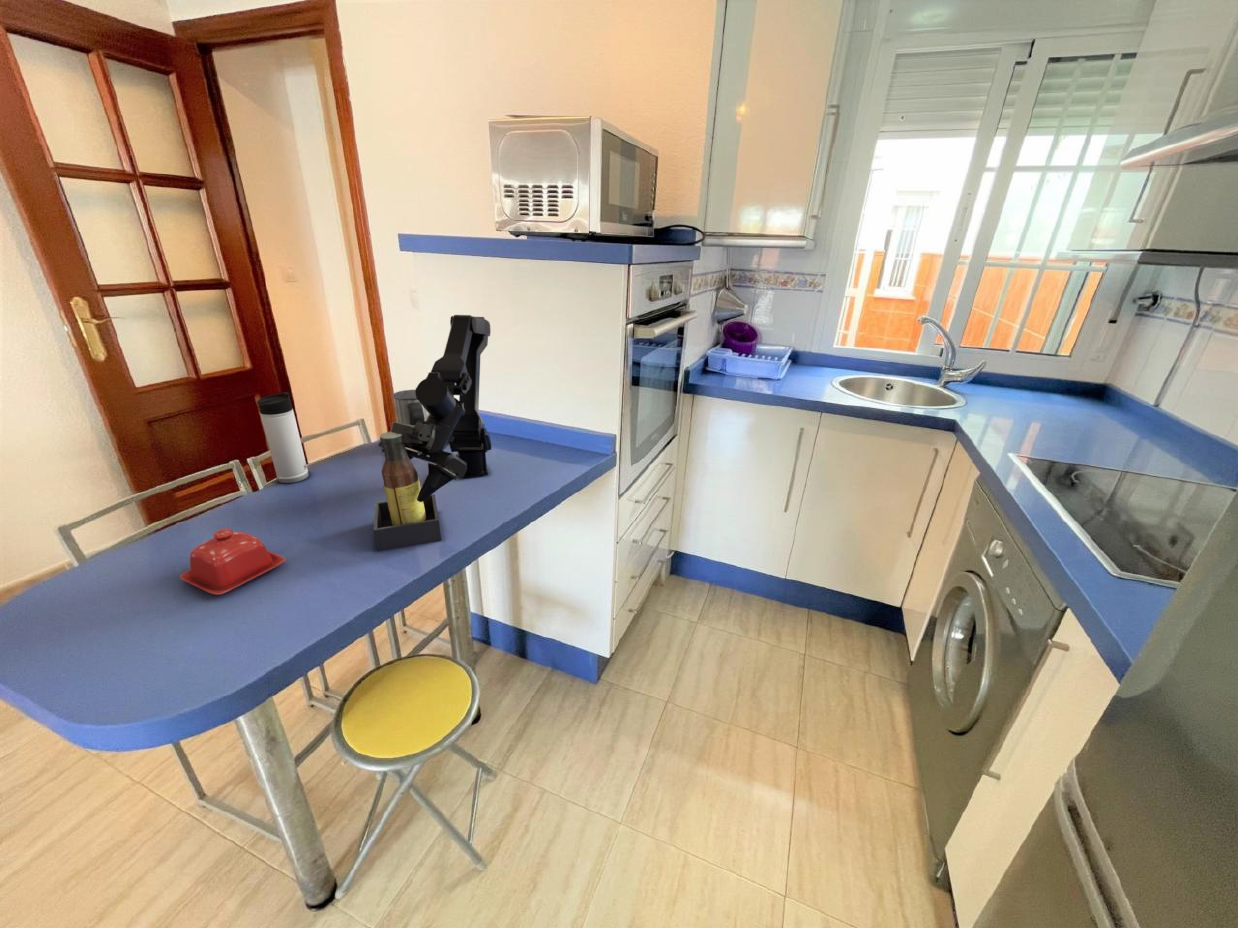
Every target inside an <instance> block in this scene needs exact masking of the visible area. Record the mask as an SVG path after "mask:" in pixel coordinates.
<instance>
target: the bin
mask: <svg viewBox="0 0 1238 928" xmlns="http://www.w3.org/2000/svg"><path fill="white" fill-rule="evenodd" d="M423 503H424V508H425V514H426V521H421V522H414V523H408V524H402V525H395V526H393V524H392V520H391V516H390V511H389V507H388V502H387V500H385V501H377V502H375V503H374V504H375V505H374V518H373V519H374V520H373V521H374V522H373V534H374V539H375V544H376V549H377V552H381V551H387V550H393V549H399V548H405V547H410V546H417V545H421V544H428V543H433V542H439V541H442V533H441V526H440V519H439V512H438V507H437V500H436V495H435V493H433V494H432V495H430V496H429V497H428V498H426V499H425V500H424V501H423Z"/></svg>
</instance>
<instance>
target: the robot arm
mask: <svg viewBox="0 0 1238 928" xmlns="http://www.w3.org/2000/svg"><path fill="white" fill-rule="evenodd" d="M449 323H450V324H449V325H450V329H449V332H448V337H447V339H446V340H447V341H446V344H445V347H444V351H443V354H442V356H441V357H440V358H439V359H437V360H435V361H434V362H433V365H432V367H431V370H430V372H428V373H427V376H426V377H425V378H424V379H422V380H421V381H420V382H419V383H418V384H417V386H416V387H415V389H414V390H415V395H416V398H417V399H418V401H419V402H420V403H421V404H422V406H423V407H424V408H425V409H426V411H427V412H428V415H427V417H426V419H425V421H422V420H419V421H417V423H416V425H415V426H414V425H409V424H403V423H398V421H392V422H391V428H390V432H393V433H397V434H401V435H402V442H404V443H405V448H406V452H407V455H408V457H409V458H410V460H411V461H412V459H414V458H415V459H418V460H421V461H424V462H427V472H428V473H427V475H426V478H425V479H424V482H423V484H422V486H421V490H420V492H419V495H418V497H417V501H419V502H423V501H424V500H425V499H426V498H428V497H429V496H430V495H433V494H435V493H436V492H437V491H438V490H440V489H441V488H442V487H445V485H447V484H448V483H450V482H452V481H453V480H455V481H457V479H458V477H460V478H461V479H467V478H475V477H483V476H489V470H488V467H487V456H486V453H488V452H489V451H491V450H492V440H491V437H490V434H489V432H488V431H487V430H488V429H487V428H486V423H485V422H484V419H483V418H482V416H481V414H480V413H479V406H480V405H479V404H480V379H481V355H482V354H483V352H484V351H485V349H486V348H487V347H488V344H489V343H488V342H489V337H490V336H491V323H490V321H489V320H487V319H486V318H485V317H484V316H474V315H473V316H472V315H471V314H454V315H451V316H450V319H449ZM455 396H458V397H459V399H458V398H456V397H455ZM448 443H449V447H450V451H451V452H448V451H445V450H444V449H445V448H446V446H447V444H448ZM411 445H412V446H411ZM378 447H381V452H382V453H384V449H383V445H382V443H381V441H379V443H378ZM454 453H456V454H454ZM383 489H384V490H385V488H384V486H383Z"/></svg>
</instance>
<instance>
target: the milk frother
mask: <svg viewBox="0 0 1238 928" xmlns="http://www.w3.org/2000/svg"><path fill="white" fill-rule="evenodd" d="M415 390H416V389H405V390H399V391H396V392H394V393H393V394H392V395H391V396H392V397H393V401H394V407H395V415H396V422H398V423H403V424H409V425H414V426H415V425H416V423H417V421H419V420H422V421H425V419H426V417H427V415H428V412H427V411H426V409H425V408H424V407H423V406H422V404H421V403H420V402H419V401H418V399H417V398H416V395H415ZM411 446H412V445H411Z"/></svg>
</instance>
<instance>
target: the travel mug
mask: <svg viewBox="0 0 1238 928" xmlns="http://www.w3.org/2000/svg"><path fill="white" fill-rule="evenodd" d="M291 397H292V395H291V393H290V392H281V393H274V394H270V395H265V396H263V397H261V398H259V399H258V400H257V407H258V409H259V415H260V419H261V423H262V426H263V430H264V434H265V437H266V442H267V445H268V448H269V453H270V456H271V460H272V463H273V467H274V471H275V475H276V478H277V481H278V482H279V483H282V484H293V483H294V484H295V483H298V482H302V481H304V480H305V479H307V478H309V474H310V473H309V469H308V466H307V461H306V458H305V457H306V456H305V454H304V448H303V445H302V441H301V436H300V432H299V428H298V424H297V420H296V416H295V412H294V408H293V405H292V401H291ZM281 477H283V478H281ZM279 478H281V479H279ZM278 479H279V480H278Z"/></svg>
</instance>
